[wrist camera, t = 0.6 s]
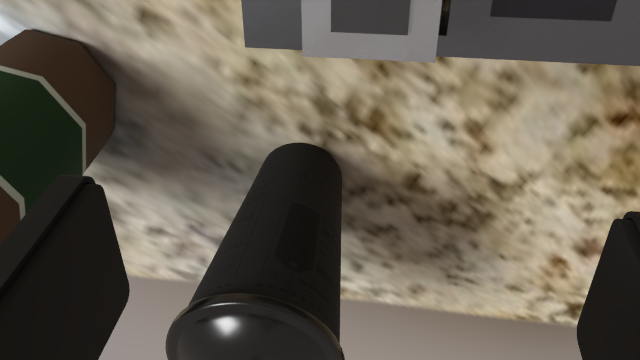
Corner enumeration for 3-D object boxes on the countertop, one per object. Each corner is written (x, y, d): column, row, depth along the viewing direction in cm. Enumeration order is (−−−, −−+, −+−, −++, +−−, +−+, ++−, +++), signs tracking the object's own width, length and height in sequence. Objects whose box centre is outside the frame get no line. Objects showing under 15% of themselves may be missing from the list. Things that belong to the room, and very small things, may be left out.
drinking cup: (217, 139, 36) (58, 468, 20) (340, 106, 34) (273, 449, 18) (268, 235, 40) (170, 574, 24) (381, 211, 38) (357, 569, 22)
